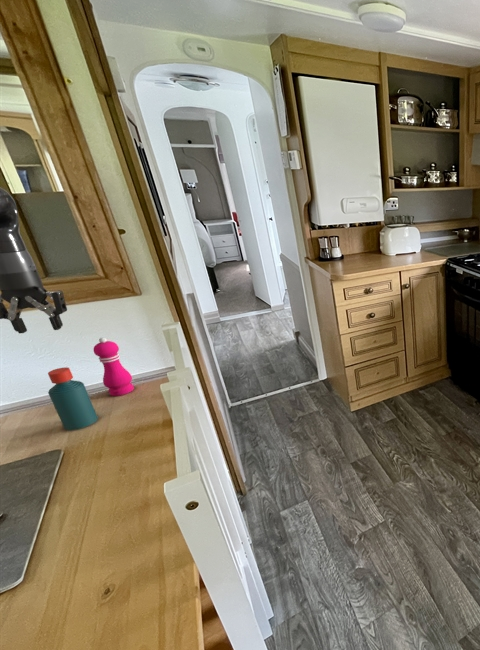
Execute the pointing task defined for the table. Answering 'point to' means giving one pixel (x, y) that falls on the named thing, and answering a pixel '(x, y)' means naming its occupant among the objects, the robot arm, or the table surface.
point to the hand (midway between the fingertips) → (40, 330)
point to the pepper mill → (113, 368)
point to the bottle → (73, 404)
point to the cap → (60, 375)
